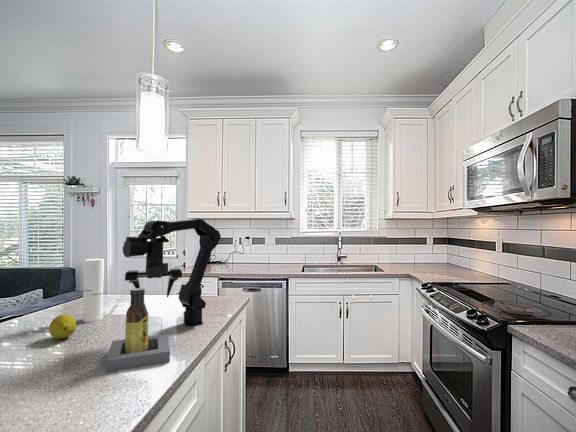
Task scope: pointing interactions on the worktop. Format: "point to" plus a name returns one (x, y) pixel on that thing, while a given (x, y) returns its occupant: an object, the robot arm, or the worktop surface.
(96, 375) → the worktop surface
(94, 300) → the cylindrical container
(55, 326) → the lemon
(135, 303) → the sauce bottle
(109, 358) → the socket frame
